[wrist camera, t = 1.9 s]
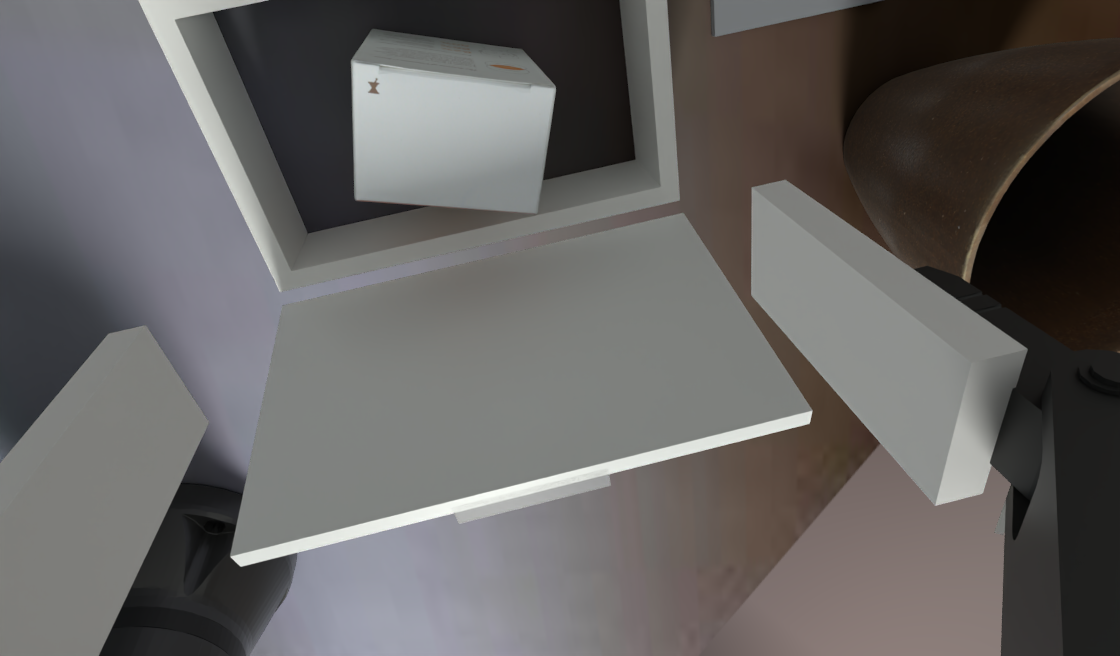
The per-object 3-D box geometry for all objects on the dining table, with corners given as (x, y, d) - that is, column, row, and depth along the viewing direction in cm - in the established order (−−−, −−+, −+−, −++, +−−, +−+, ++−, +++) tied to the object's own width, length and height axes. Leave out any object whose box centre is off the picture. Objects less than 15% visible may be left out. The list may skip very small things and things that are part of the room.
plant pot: (740, 135, 38) (907, 241, 24) (955, -64, 34) (1294, -68, 20) (851, 279, 45) (1027, 422, 32) (1039, 128, 41) (1330, 219, 28)
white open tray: (297, 252, 37) (280, 292, 33) (179, -11, 29) (136, -3, 25) (652, 171, 38) (679, 200, 34) (629, -102, 30) (659, -109, 26)
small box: (370, 135, 34) (348, 203, 25) (370, 24, 31) (345, 57, 23) (514, 151, 36) (539, 219, 27) (526, 47, 33) (558, 86, 24)
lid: (282, 305, 33) (295, 327, 34) (229, 556, 22) (251, 576, 23) (683, 212, 34) (683, 236, 35) (812, 410, 23) (806, 436, 24)
